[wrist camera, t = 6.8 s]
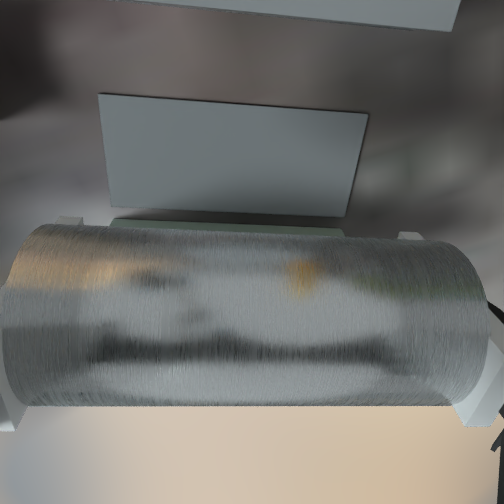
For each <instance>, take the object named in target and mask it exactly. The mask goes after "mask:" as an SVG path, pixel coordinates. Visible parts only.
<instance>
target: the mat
mask: <svg viewBox="0 0 504 504" xmlns="http://www.w3.org/2000/svg"><path fill="white" fill-rule="evenodd" d="M98 101H99V110H100V118H101V126H102V135H103V143H104V151H105V160H106V168H107V176H108V185H109V193H110V201H111V207H130V208H152V209H174V210H196V211H218V212H239V213H261V214H283V215H305V216H327V217H345V213H346V209H347V204H348V200H349V196H350V191H351V187H352V183H353V179H354V174H355V170H356V166H357V161H358V157H359V153H360V149H361V144H362V140H363V136H364V131H365V127H366V123H367V119H368V114H364V113H351V112H337V111H324V110H311V109H297V108H284V107H271V106H258V105H244V104H231V103H218V102H204V101H191V100H178V99H165V98H151V97H138V96H125V95H111V94H98Z"/></svg>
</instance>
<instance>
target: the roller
mask: <svg viewBox="0 0 504 504" xmlns="http://www.w3.org/2000/svg"><path fill="white" fill-rule="evenodd" d="M0 329H2V351H3V361H4V367H5V372H6V376H7V379H8V383H9V385H10V387H11V389H12V392H13V393H14V395H15V396H16V398H17V399H18V400H19V401H20V402H21V403H23V404H25V405H27V406H30V407H32V406H34V407H35V406H36V407H38V406H451V405H455V404H457V403H460V402H461V401H463V400H464V399H466V398H467V397H468V396H469V395H470V394H471V392H472V391H473V390H474V388H475V387H476V385H477V383H478V381H479V379H480V377H481V374H482V371H483V368H484V365H485V361H486V356H487V349H488V337H491V326H490V315H489V309H488V303H487V299H486V295H485V292H484V288H483V286H482V283H481V281H480V278H479V276H478V274H477V272H476V270H475V268H474V267H473V265H472V264H471V262H470V261H469V259H468V258H467V257H466V256H465V255H464V254H463V253H462V252H461V251H460V250H459V249H458V248H456V247H455V246H453V245H451V244H449V243H446V242H443V241H431V240H408V239H386V238H363V237H340V236H317V235H294V234H272V233H249V232H226V231H203V230H181V229H158V228H135V227H112V226H89V225H67V224H45V225H42V226H40V227H39V228H37V229H35V230H34V231H33V232H32V233H31V234H30V235H29V236H28V238H27V239H26V240H25V242H24V243H23V245H22V246H21V248H20V250H19V251H18V254H17V256H16V258H15V260H14V262H13V265H12V267H11V270H10V273H9V276H8V279H7V283H6V287H5V291H4V296H3V300H2V307H1V314H0Z"/></svg>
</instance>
